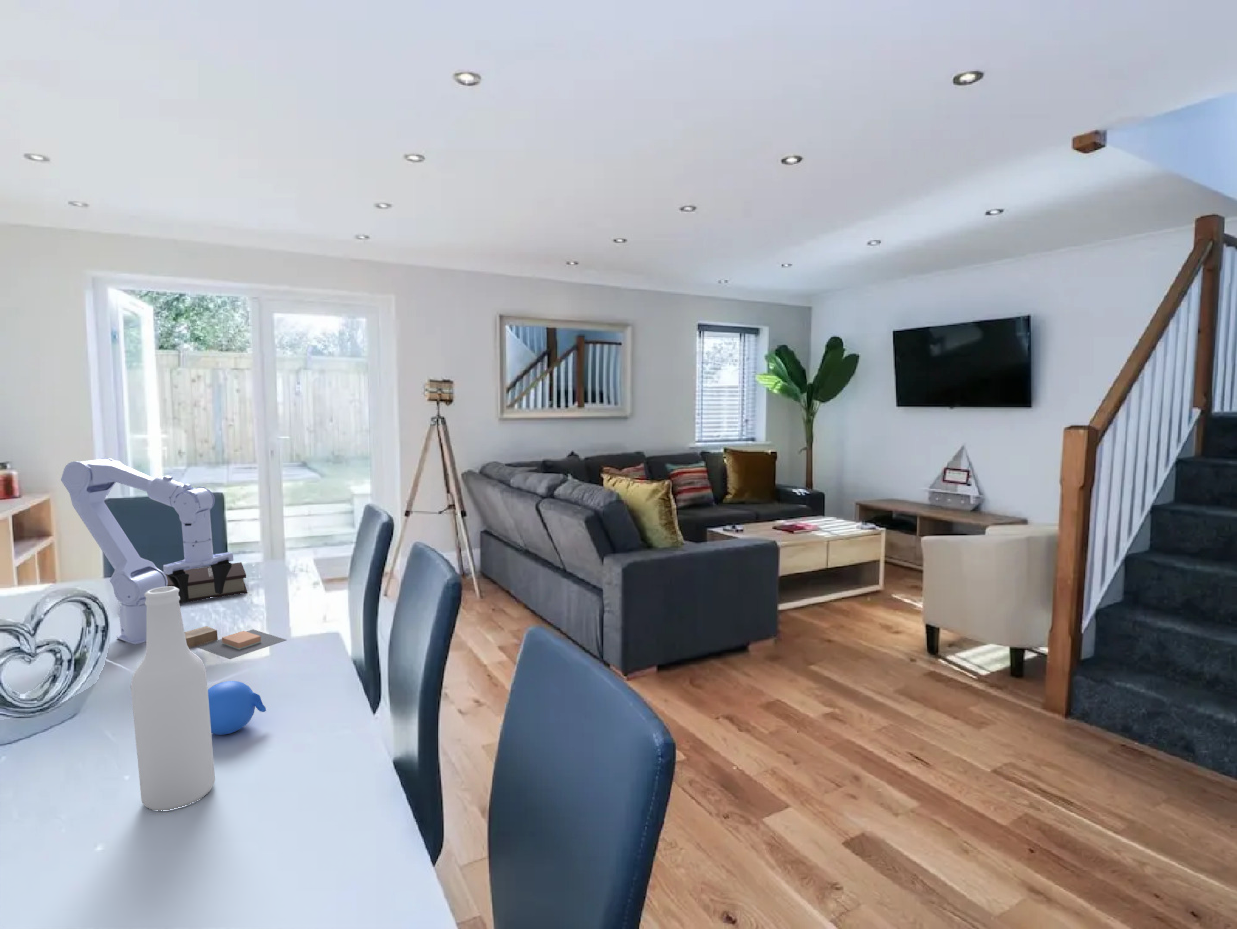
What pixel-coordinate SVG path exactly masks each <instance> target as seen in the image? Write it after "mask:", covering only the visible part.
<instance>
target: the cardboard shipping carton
mask: <svg viewBox="0 0 1237 929" xmlns="http://www.w3.org/2000/svg"><path fill="white" fill-rule="evenodd" d="M184 632H185V638H186V643H187V646H188V648H189V649H191V648H192V647H193V648H194V647H197V646H200V645H204V644H207V643H210V642H213V641H217V640H219V638H218V630H217V629H215V628H213V627H211V626H208V625H206V626H202V627H199V628H195V629H191V630H186V631H184Z"/></svg>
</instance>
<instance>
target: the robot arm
mask: <svg viewBox="0 0 1237 929" xmlns="http://www.w3.org/2000/svg"><path fill="white" fill-rule="evenodd" d="M173 478H174V477H173V476H170V475H164V476H163V475H162V476H161V475H160V476H157V477H155V478H154V477H152V476H149V475H148V474H145V473H143V472H141V471H138V470H137V469H134V468H133V467H132V468H131V467H130V466H127V465H125V464H123V463H122V461H121V460H116V459H115V460H114V459H113V458H110V457H102V458H98V459H91V460H90V459H89V460H81V461H80V460H79V461H78V460H74V461H70V462H68V463H67V464H65V466H64V468H63V471H62V474H61V478H60V481H61V482H62V485H63V486H64V487H65V489H66V490H67V492H68V493H69V497H70V502H71V504H72V507H73V509H74V510H75V512H76V513H77V515H78V516H79V517H80V519H81V521H82V522H83V524H84V525H85V527H86V528H87V530H88V531H89V533H90V534H91V537H93V539H94V541H95V542H96V544H97V545H98V547H99V548H100V549H101V551H102V552H103V555H105V557H106V559H107V560H108V562H109V564H110V565H111V566H112V568H113V569H114V571H113V573H112V575H111V577H110V579H109V582H110V584H111V585H112V588H113V593H114V597H115V598H116V600H117V601H118V602H119V603H120V604H121V606H120V607H119V611H118V616H119V624H120V635H117V636H116V639H119V640H121V641H123V642H125V643H129V644H132V645H139V644H142V643H145V642H146V631H147V606H146V605H145V601H146V597H145V596H144V594H145V593H146V592H147V591H149V590H151V589H155V588H160V587H167V584H168V580H167V577H166V575H165V574H167V576H168V577H169V579H170V580H171V581H172V583H173V584H174V586H175V587H176V588H178V589H179V592H178V594H179V596H180V599H181V602H184V604H185V603H190V602H189V595H188V578H189V575H188V574H185V572H184V570H189V569H193V568H201V567H208V566H211V568H212V572H213V577H214V588H215V593H218V594H222V593H223V588H224V584H225V580H226V577H227V575H228V573H229V571H230V569H231V567H232V562H233V561H234V553H233V552H229V551H227V552H221V553H215V554H214V547H213V534H212V532H213V531H212V523H211V519H212V518H211V509H213V508H214V505H215V500H216V499H215V495H214V494H213V492H212V491H211V490H210V489H208V488H206V487H205V486H199V487H195V488H194V487H192V484H190V483H183V482H179V481H177V480H174V479H173ZM117 483H118V484H120V485H124V486H127V487H130V488H134V489H137V490H140V491H142V492H146V493H147V497H148V498H149V499H151V500H153V501H156V502H158V503H160V504H163V505H166V506H169V507H171V508H173V509H174V510H175V512H176V513H177V514H178V515H179V516H178V518H179V521H180V523H181V531H182V532H181V533H182V546H183V556H184V557H183V558H184V559H182V560H179V561H175V562H171V563H167V564H163V565H162V566H163V570H161V569H159V568H158V567H157V566H156V565H155V563H154V562H153V561H150V560H148V559H146V558H143V557H141V556H140V554H139V553H138V551H137V550H136V548H135V547H134V545H133V543H132V542H131V541H130V539H129V538H128V536H127V535H126V533H125V531H124V530H123V529H122V527H121V525H120V524H119V522H118V521H117V519H116V518H115V516H114V515H113V513H112V512H111V510H110V509H109V507H108V505H107V504H106V502H105V501H106V497H107V496H108V495H109V494H110V492H111V491H112V489H113V487H114V486H115V484H117Z"/></svg>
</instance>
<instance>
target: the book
mask: <svg viewBox="0 0 1237 929" xmlns="http://www.w3.org/2000/svg"><path fill="white" fill-rule="evenodd" d="M231 564H232V567H231V569H230V571H229V573H228V575H227V577H226V580H225V584H224V588H223V593H222V594H218V593H215V588H214V577H213V572H212V568H211V565H208V566H203V567H198V568H193V569H189V570H184V572H185V574H188V575H189V578H188V595H189V602H188V603H192V602H196V601H197V600H198V601H203V600H202V599H205V600H207V599H206V598H210V597H218V598H223V597H222V596H225V597H229V596H228V595H231V596H235V595H234V594H238V595H241V594H240V593H244V594H248V590H247V587H246V583H245V581H244V579H246V578H247V574H246V570H245V568H244V565H243V562H241V561H240V562H234V563H232V562H231ZM165 575H166V577H167V580H168V584H167V587H169V586H172V587H175V586H174V584H173V583H172V581H171V580H170V579H169V577H168V576H167V574H165ZM178 596H179V594H178ZM191 601H192V602H191ZM198 601H197V602H198ZM183 603H184V602H181V599H180V600H179V604H183ZM184 604H185V603H184Z"/></svg>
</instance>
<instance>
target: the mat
mask: <svg viewBox="0 0 1237 929" xmlns="http://www.w3.org/2000/svg"><path fill="white" fill-rule="evenodd" d="M246 632H249V633H252V634H255V635H259V636H261V643H258V644H255V645H252V646H249V647H246V648H243V649H240V650H239V649H236V648H233V647H230V646H227V645H224V644H222V638H221V639H218V640H214V641H211V642H207V643H204V644H200V645H197V646H196V648H198V649H200V650H201V649H202V650H203V651H207V652H209V653H212V654H215V655H217V656H220V657H222V658H226V659H227V660H228V659H229V660H231V659H234V658H237V657H240V656H244V655H247V654H249V653H252V652H255V651H258V650H262V649H264V648H267V647H270V646H273V645H276V644H279V643H282V642H285V641H287V639H286V638H282V637H278V636H276V635H272V634H271V633H270V634H269V633H266V632H263V631H259V630H256V629H249V630H246Z"/></svg>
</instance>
